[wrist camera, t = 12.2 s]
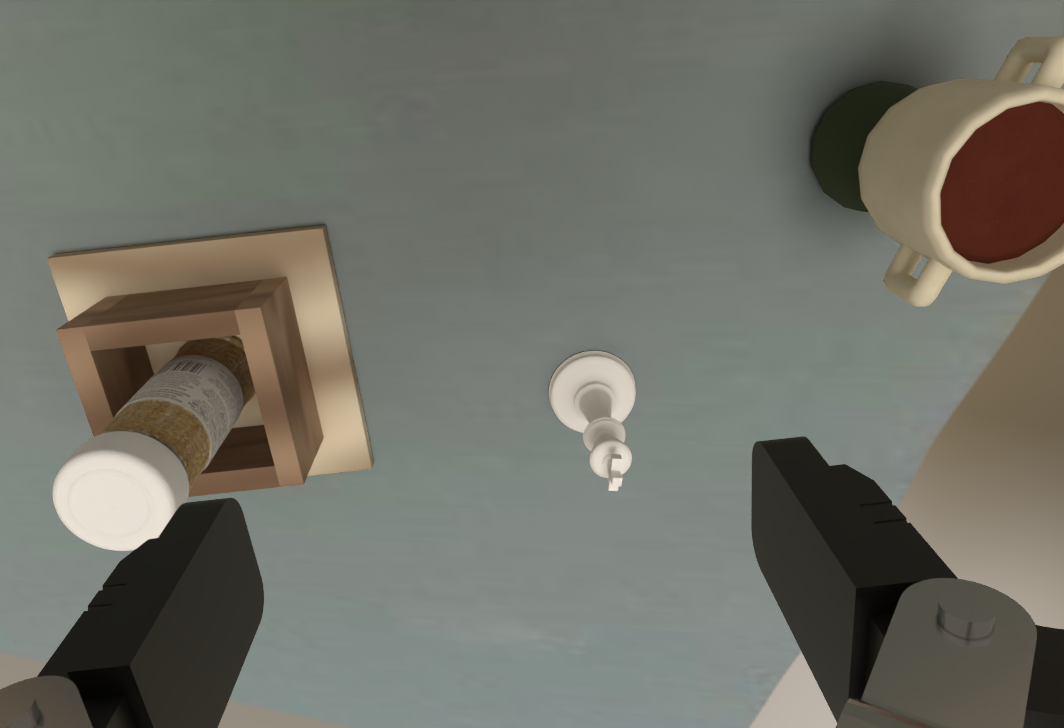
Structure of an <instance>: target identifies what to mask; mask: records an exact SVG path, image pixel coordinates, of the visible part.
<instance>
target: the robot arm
mask: <svg viewBox="0 0 1064 728" xmlns="http://www.w3.org/2000/svg"><path fill="white" fill-rule="evenodd" d="M752 539H753V545H754V550H755V554H756V558H757V561H758V564H759V567H760V569H761V571H762V573H763V575H764V577H765V579H766V581H767V583H768V585H769V587H770V589H771V591H772V593H773V595H774V597H775V599H776V601H777V603H778V605H779V607H780V609H781V611H782V613H783V615H784V617H785V619H786V621H787V623H788V625H789V627H790V629H791V631H792V633H793V635H794V637H795V639H796V641H797V643H798V645H799V647H800V649H801V651H802V653H803V655H804V657H805V659H806V661H807V663H808V665H809V667H810V669H811V671H812V673H813V675H814V677H815V679H816V681H817V683H818V685H819V687H820V689H821V691H822V693H823V695H824V697H825V699H826V701H827V703H828V705H829V707H830V709H831V711H832V713H833V715H834V717H835V719H836V721H837V726H836V728H1064V630H1063V629H1055V628H1049V627H1043V626H1038V625H1035V623H1034V621H1033V620H1032V618H1031V616H1030V615H1029V614H1028V612H1026V610H1025V609H1024V608H1023V607H1022V606H1021V605H1019V604H1018V603H1017V602H1016V601H1014V600H1013V599H1011V598H1010V597H1009V596H1007V595H1005V594H1003V593H1001V592H999V591H998V590H995V589H993V588H991V587H988V586H985V585H982V584H979V583H976V582H972V581H967V580H962V579H958V578H957V577H956V576H955V575H954V573H953V572H952V571H951V570H950V569H949V568H948V567H947V565H946V564H945V563H944V562H943V561H942V559H941V558H940V557H939V556H938V555H937V554H936V553H935V551H934V550H933V549H932V548H931V547H930V545H929V544H928V543H927V542H926V541H925V540H924V539H923V537H922V536H921V535H920V534H919V533H918V531H917V530H916V529H915V528H914V527H913V526H912V524H911V523H907V521H906V517H905V516H904V515H903V514H902V513H901V512H900V510H899V509H898V508H897V507H896V506H895V505H894V506H892V501H891V500H890V499H889V498H888V496H887V495H886V494H885V493H884V492H883V491H882V489H881V488H880V487H879V486H878V485H877V484H876V482H875V481H874V480H872V479H870V478H868V477H867V476H865V475H863V474H861V473H860V472H858V471H856V470H854V469H853V468H851V467H849V466H847V465H845V464H843V465H834V466H829V465H828V464H827V463H826V461H825V460H824V459H823V457H822V456H821V455H820V454H819V452H818V451H817V450H816V448H815V447H814V446H813V445H812V443H811V442H810V441H809V440H808V439H807V438H806V437H795V438H786V439H777V440H768V441H758V442H756V443H755V444H754V447H753V452H752ZM263 605H264V591H263V583H262V578H261V575H260V571H259V568H258V564H257V561H256V557H255V554H254V550H253V547H252V543H251V540H250V536H249V532H248V529H247V525H246V522H245V518H244V515H243V512H242V509H241V507H240V504H239V503H238V501H237V500H236V499H234V498H226V499H216V500H207V501H198V502H189V503H183V504H182V505H180V506H179V508H178V509H177V510H176V512H175V513H174V515H173V516H172V518H171V519H170V521H169V522H168V524H167V525H166V527H165V528H164V530H163V531H162V533H161V534H160V535H159V537H158V538H154V539H148V540H147V541H146V542H144V543H143V544H142V545H141V546H139V547H138V548H137V549H135V550H134V551H133V552H132V553H130V554H129V555H128V556H126V557H125V558H124V559H123V560H121V561H120V562H119V564H118V565H117V566H116V568H115V569H114V571H113V572H112V573H111V575H110V576H109V578H108V579H107V580H106V582H105V583H104V584H103V590H102V591H98V593H97V594H96V596H95V597H94V598H93V600H92V601H91V603H90V604H89V605H88V611H84V612H83V614H82V615H81V616H80V618H79V619H78V621H77V622H76V623H75V625H74V626H73V628H72V629H71V630H70V632H69V633H68V634H67V636H66V637H65V639H64V640H63V641H62V643H61V644H60V646H59V647H58V648H57V650H56V651H55V653H54V654H53V655H52V657H51V658H50V659H49V661H48V662H47V664H46V665H45V667H44V668H43V669H42V671H41V672H40V673H39V675H38V676H37V677H34V678H30V679H26V680H23V681H20V682H17V683H14V684H12V685H9V686H7V687H5V688H2V689H0V728H218V725H219V722H220V720H221V718H222V715H223V713H224V710H225V708H226V705H227V703H228V700H229V698H230V696H231V693H232V691H233V688H234V686H235V683H236V681H237V678H238V676H239V673H240V671H241V668H242V666H243V663H244V661H245V658H246V656H247V654H248V651H249V649H250V646H251V644H252V641H253V639H254V636H255V634H256V631H257V629H258V626H259V624H260V621H261V618H262V613H263Z"/></svg>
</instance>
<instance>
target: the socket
mask: <svg viewBox="0 0 1064 728" xmlns="http://www.w3.org/2000/svg"><path fill="white" fill-rule="evenodd" d="M47 261H48V264H49V266H50V269H51V272H52V275H53V278H54V281H55V284H56V287H57V289H58V292H59V295H60V298H61V301H62V304H63V307H64V310H65V312H66V315H67V318H68V321H69V322H67V323H66V324H64V325H63V326H61V327H60V328H58V329H56V331H57V334H58V337H59V340H60V342H61V345H62V348H63V351H64V354H65V357H66V359H67V362H68V365H69V368H70V371H71V373H72V376H73V379H74V382H75V385H76V388H77V390H78V393H79V396H80V399H81V402H82V404H83V407H84V410H85V413H86V416H87V418H88V421H89V424H90V427H91V430H92V433H93V435H94V437H95V436H97V435H98V434H100V433H101V432H102V431H103V430H104V429H105V428H106V427H107V426H108V425H109V423H110V422H111V421H112V420H113V419H114V417H115V415H116V414H117V413H118V411H119V410H120V409H121V408H122V407H123V406H124V405H125V404H126V403H127V402H128V401H129V400H130V399H131V398H132V397H133V396H134V395H135V394H136V393H137V392H138V391H139V390H140V389H141V388H142V387H143V386H144V385H145V384H146V383H147V381H148V380H149V379H150V378H151V377H152V376H153V375H154V374H155V373H157V372H158V371H159V369H160V368H161V367H163V366H164V365H165V364H166V363H167V362H169V361H171V360H172V359H173V358H174V357H175V356H176V354H177V352H178V350H179V348H180V347H181V346H183V345H184V344H185V343H186V342H187V341H189V340H198V339H207V338H216V337H225V336H232V337H234V338H236V339H238V340H240V341H241V342H242V343H243V346H244V350H245V354H246V357H247V361H248V365H249V369H250V373H251V377H252V381H253V384H254V388H255V392H256V393H255V395H254V396H253V397H252V399H251V400H250V401H249V402H247V403H246V405H245V406H244V408H243V410H242V411H241V414H240V416H239V418H238V419H237V421H236V423H235V424H234V426H233V427H232V429H231V431H230V432H229V434H228V435H227V437H226V438H225V440H224V441H223V443H222V444H221V446H220V447H219V449H218V450H217V452H216V454H215V455H214V457H213V458H212V460H211V461H210V463H209V465H208V466H207V468H206V469H205V470H203V471H202V473H201V474H200V475H199V477H198V478H197V480H196V481H195V483H194V484H193V486H192V488H191V489H190V491H189V496H188V497H191V496H200V495H209V494H218V493H227V492H237V491H246V490H255V489H264V488H273V487H282V486H291V485H301V484H304V483H305V480H306V478H307V476H310V475H319V474H328V473H337V472H346V471H356V470H365V469H372V467H373V463H374V460H373V455H372V450H371V445H370V440H369V435H368V431H367V426H366V421H365V416H364V411H363V406H362V401H361V396H360V391H359V386H358V381H357V376H356V372H355V367H354V362H353V357H352V352H351V347H350V342H349V337H348V332H347V327H346V322H345V318H344V313H343V308H342V303H341V298H340V293H339V288H338V283H337V278H336V273H335V268H334V263H333V259H332V254H331V249H330V244H329V239H328V234H327V229H326V225H320V226H310V227H301V228H292V229H283V230H274V231H265V232H255V233H246V234H237V235H228V236H219V237H210V238H200V239H191V240H182V241H173V242H164V243H155V244H145V245H136V246H127V247H118V248H109V249H100V250H90V251H81V252H72V253H63V254H55V255H53V256H51V257H49V258H47Z"/></svg>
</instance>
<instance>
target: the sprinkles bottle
mask: <svg viewBox="0 0 1064 728" xmlns="http://www.w3.org/2000/svg"><path fill="white" fill-rule="evenodd" d="M255 393H256V392H255V388H254V384H253V381H252V377H251V373H250V369H249V365H248V361H247V357H246V354H245V350H244V346H243V343H242V342H241V341H240V340H238V339H236V338H234V337H232V336H225V337H216V338H207V339H198V340H189V341H187V342H186V343H185V344H184V345H183V346H181V347H180V348H179V350H178V352H177V354H176V356H175V357H174V358H173V359H172V360H171V361H169V362H167V363H166V364H165V365H164V366H163V367H161V368H160V369H159V371H158V372H157V373H155V374H154V375H153V376H152V377H151V378H150V379H149V380H148V381H147V383H146V384H145V385H144V386H143V387H142V388H141V389H140V390H139V391H138V392H137V393H136V394H135V395H134V396H133V397H132V398H131V399H130V400H129V401H128V402H127V403H126V404H125V405H124V406H123V407H122V408H121V409H120V410H119V411H118V413H117V414H116V415H115V417H114V419H113V420H112V421H111V422H110V423H109V425H108V426H107V427H106V428H105V429H104V430H103V431H102V432H101V433H100V434H98V435H97V436H95V437H93V438H91V439H89V440H88V441H87V442H86V443H84V444H83V445H82V446H81V447H80V448H79V449H78V450H77V451H76V452H75V453H74V454H73V455H72V456H71V457H70V458H69V459H68V461H67V462H66V463H65V464H64V465H63V466H62V468H61V469H60V471H59V472H58V474H57V476H56V478H55V481H54V485H53V502H54V506H55V509H56V511H57V513H58V515H59V517H60V519H61V520H62V522H63V523H64V524H65V525H66V527H67V528H68V529H69V530H70V531H72V532H73V533H74V534H75V535H76V536H78V537H79V538H81V539H82V540H84V541H86V542H88V543H90V544H92V545H95V546H97V547H100V548H104V549H108V550H116V551H128V550H135V549H137V548H138V547H139V546H141V545H142V544H143V543H144V542H146V541H147V540H148V539H154V538H158V537H159V535H160V534H161V533H162V531H163V530H164V528H165V527H166V525H167V524H168V522H169V521H170V519H171V518H172V516H173V515H174V513H175V512H176V510H177V509H178V508H179V506H180V505H182V504H183V503H186V502H187V499H188V496H189V491H190V489H191V488H192V486H193V484H194V483H195V481H196V480H197V478H198V477H199V475H200V474H201V473H202V471H203V470H205V469H206V468H207V466H208V465H209V463H210V461H211V460H212V458H213V457H214V455H215V454H216V452H217V450H218V449H219V447H220V446H221V444H222V443H223V441H224V440H225V438H226V437H227V435H228V434H229V432H230V431H231V429H232V427H233V426H234V424H235V423H236V421H237V419H238V418H239V416H240V414H241V411H242V410H243V408H244V406H245V405H246V403H247V402H249V401H250V400H251V399H252V397H253V396H254V395H255Z"/></svg>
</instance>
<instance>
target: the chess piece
mask: <svg viewBox="0 0 1064 728" xmlns="http://www.w3.org/2000/svg"><path fill="white" fill-rule="evenodd" d="M635 395H636V390H635V381H634V377H633V374H632V372H631V370H630V369H629V367H628V366H627V365H626V364H625V363H624V362H623V361H622V360H621V359H619V358H618V357H616V356H614V355H612V354H610V353H607V352H603V351H586V352H581V353H578V354H576V355H573V356H571V357H570V358H568V359H567V360H565V361H564V362H563V363H562V364H561V365H560V366H559V367H558V368H557V369H556V371H555V372H554V374H553V376H552V378H551V381H550V385H549V399H550V403H551V406H552V408H553V410H554V412H555V414H556V415H557V417H558V418H559V419H560V421H561V422H562V423H564V424H565V425H566V426H568V427H569V428H571V429H573V430H575V431H578V432H582V433H584V434H583V440H584V443H585V445H586V447H587V448H588V449H589V450H590V451H591V454H590V465H591V468H592V469H593V471H594V472H595V473H596V474H598V475H599V476H601V477H605V478H608V484H607V487H608V491H618V486H621V485H622V474H624V473H625V472H626V471H627V470H628V468H629V467H630V465H631V461H632V455H631V452H630V450H629V448H628V447H627V446H626V445H625V444H624V441H625V429H624V427H623V425H622V424H621V422H622V421H623V420H624V419H625V418H626V417H627V416H628V414H629V413H630V411H631V409H632V407H633V405H634V401H635Z"/></svg>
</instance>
